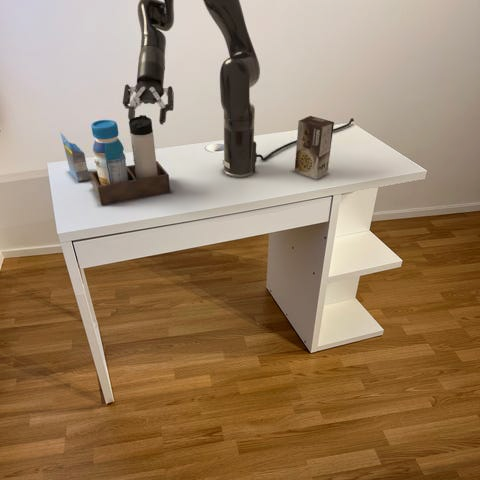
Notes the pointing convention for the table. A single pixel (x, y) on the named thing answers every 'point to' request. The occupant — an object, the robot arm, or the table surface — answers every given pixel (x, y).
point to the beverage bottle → (108, 153)
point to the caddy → (131, 186)
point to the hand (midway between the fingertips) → (146, 122)
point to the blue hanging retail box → (76, 160)
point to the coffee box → (313, 146)
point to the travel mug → (143, 147)
